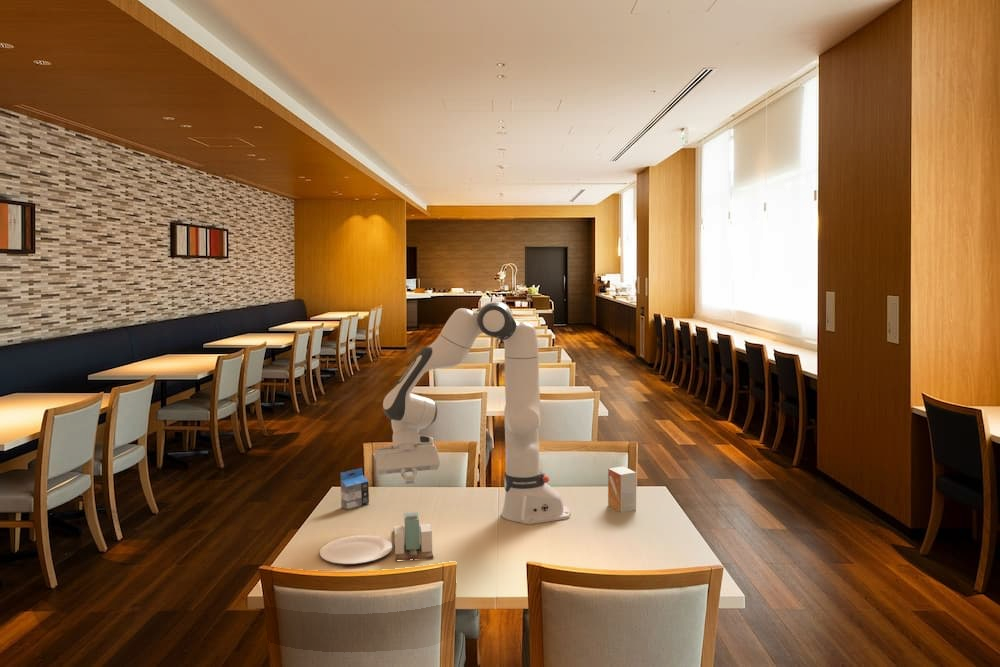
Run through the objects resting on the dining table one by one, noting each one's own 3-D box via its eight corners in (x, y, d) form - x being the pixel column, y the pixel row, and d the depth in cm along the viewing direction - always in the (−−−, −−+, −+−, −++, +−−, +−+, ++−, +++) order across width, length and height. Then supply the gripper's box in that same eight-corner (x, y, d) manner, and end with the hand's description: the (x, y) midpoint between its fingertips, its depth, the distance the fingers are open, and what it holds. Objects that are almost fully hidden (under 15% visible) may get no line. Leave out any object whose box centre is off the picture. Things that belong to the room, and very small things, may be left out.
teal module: (418, 541, 223) (417, 509, 222) (419, 548, 217) (418, 516, 216) (405, 542, 222) (404, 510, 221) (405, 550, 216) (404, 517, 215)
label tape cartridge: (346, 510, 255) (345, 475, 253) (341, 507, 258) (339, 472, 256) (369, 504, 260) (368, 469, 259) (363, 501, 263) (362, 467, 262)
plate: (346, 536, 232) (346, 531, 232) (405, 545, 224) (405, 540, 224) (304, 562, 213) (304, 556, 213) (367, 573, 205) (367, 567, 205)
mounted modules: (430, 543, 222) (430, 523, 222) (432, 551, 216) (431, 531, 216) (394, 546, 221) (394, 526, 220) (395, 554, 215) (394, 533, 214)
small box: (607, 505, 256) (607, 468, 255) (623, 502, 259) (623, 465, 257) (620, 512, 249) (620, 474, 247) (636, 510, 251) (636, 472, 250)
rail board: (427, 528, 237) (427, 524, 237) (433, 558, 214) (432, 554, 213) (393, 530, 235) (393, 526, 235) (395, 561, 212) (395, 557, 212)
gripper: (374, 442, 242) (376, 481, 233) (437, 437, 245) (441, 475, 236) (374, 452, 247) (376, 490, 238) (437, 447, 250) (441, 484, 241)
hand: (409, 482), depth 237 cm, fingers closed
